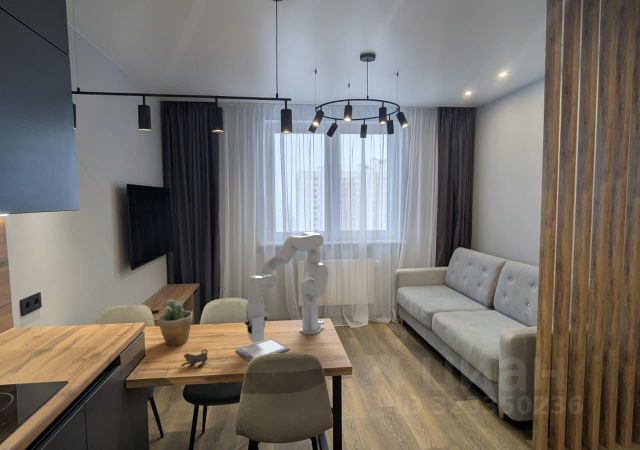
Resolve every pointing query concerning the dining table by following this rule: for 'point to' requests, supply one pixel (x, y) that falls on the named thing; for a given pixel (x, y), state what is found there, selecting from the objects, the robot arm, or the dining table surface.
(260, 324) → the small box
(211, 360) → the dining table surface
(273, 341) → the writing board
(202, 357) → the dog figurine
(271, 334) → the dining table surface
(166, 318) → the potted plant
